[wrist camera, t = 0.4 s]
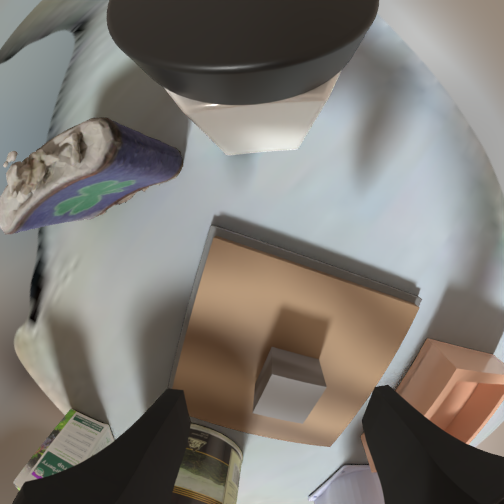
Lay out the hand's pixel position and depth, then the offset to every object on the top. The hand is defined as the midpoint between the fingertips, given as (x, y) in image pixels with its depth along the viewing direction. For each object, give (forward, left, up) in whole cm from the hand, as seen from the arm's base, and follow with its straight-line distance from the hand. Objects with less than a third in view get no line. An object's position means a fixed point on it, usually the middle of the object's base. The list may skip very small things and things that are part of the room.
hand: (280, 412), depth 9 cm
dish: (-5, -19, -10) cm, 22 cm away
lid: (-4, -2, -9) cm, 10 cm away
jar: (+13, +6, -10) cm, 18 cm away
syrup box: (-24, +14, -10) cm, 29 cm away
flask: (+5, +13, -10) cm, 17 cm away
